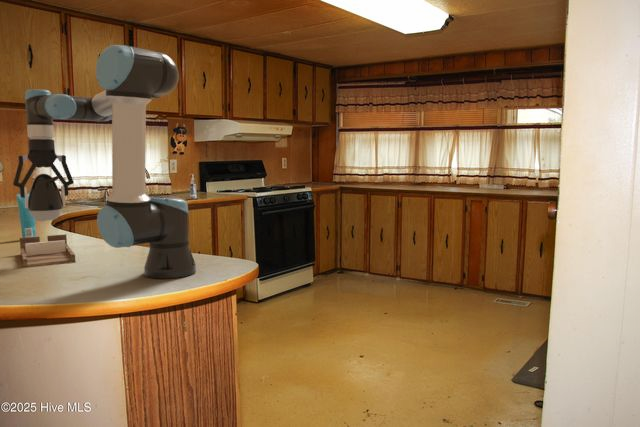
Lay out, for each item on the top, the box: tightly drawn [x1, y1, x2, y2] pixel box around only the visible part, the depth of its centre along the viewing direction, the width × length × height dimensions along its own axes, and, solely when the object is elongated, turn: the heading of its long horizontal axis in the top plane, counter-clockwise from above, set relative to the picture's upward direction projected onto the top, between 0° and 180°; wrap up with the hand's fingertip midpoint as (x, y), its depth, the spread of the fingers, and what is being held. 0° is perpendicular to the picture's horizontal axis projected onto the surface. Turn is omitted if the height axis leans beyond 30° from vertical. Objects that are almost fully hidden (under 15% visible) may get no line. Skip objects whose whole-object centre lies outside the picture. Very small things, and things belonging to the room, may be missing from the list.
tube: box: [15, 193, 37, 238], centre depth 217 cm, size 7×5×19 cm, turn 152°
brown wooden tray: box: [19, 234, 76, 268], centre depth 181 cm, size 24×15×6 cm, turn 32°
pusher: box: [25, 240, 66, 255], centre depth 187 cm, size 8×12×4 cm, turn 122°
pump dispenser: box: [28, 173, 64, 222], centre depth 172 cm, size 10×10×15 cm
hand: (45, 206), depth 173 cm, fingers closed on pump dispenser, 10 cm apart
